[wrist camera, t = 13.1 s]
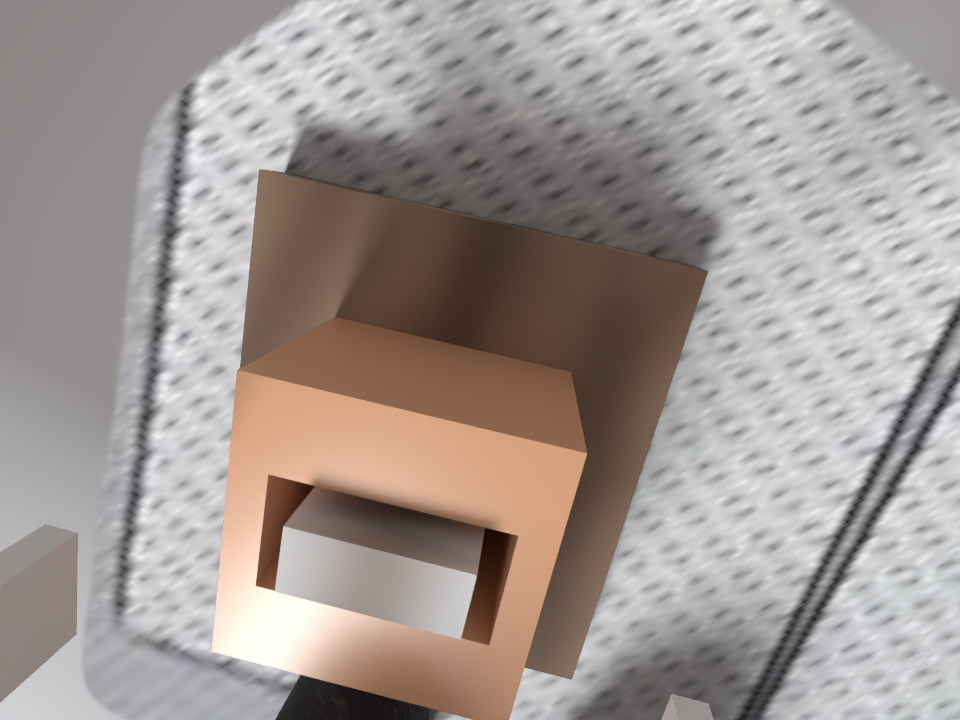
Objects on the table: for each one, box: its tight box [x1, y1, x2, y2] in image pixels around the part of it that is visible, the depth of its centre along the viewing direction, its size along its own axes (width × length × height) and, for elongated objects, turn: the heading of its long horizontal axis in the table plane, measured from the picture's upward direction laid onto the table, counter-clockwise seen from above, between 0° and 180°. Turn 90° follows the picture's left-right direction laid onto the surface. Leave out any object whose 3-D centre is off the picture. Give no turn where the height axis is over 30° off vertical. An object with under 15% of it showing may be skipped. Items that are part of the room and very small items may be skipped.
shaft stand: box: [240, 169, 708, 680], centre depth 19 cm, size 16×18×10 cm
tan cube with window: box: [212, 317, 587, 720], centre depth 18 cm, size 9×9×7 cm
